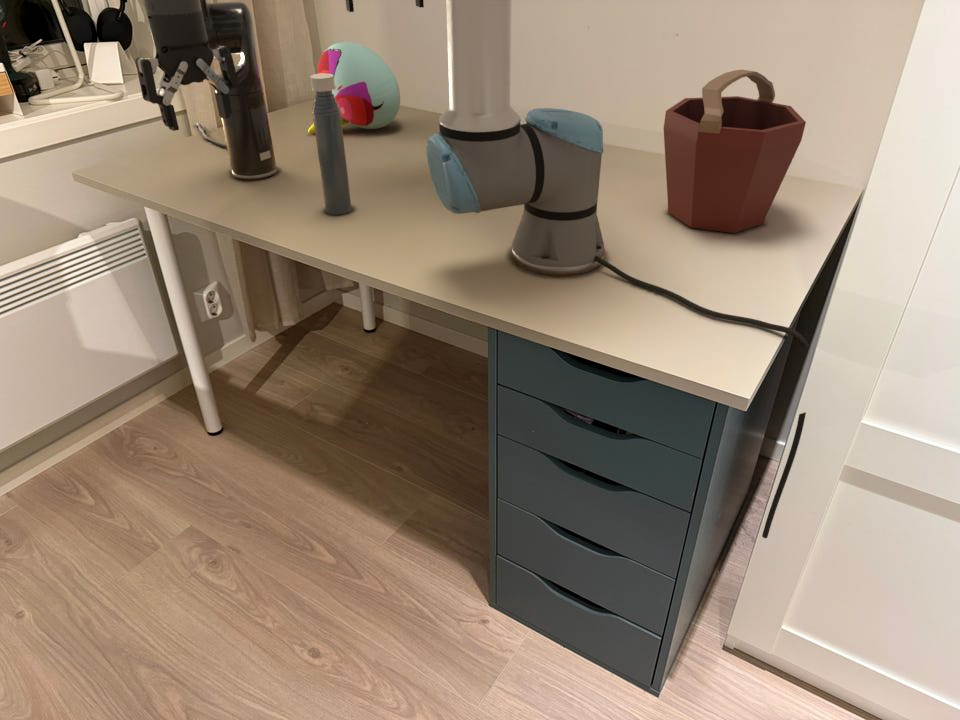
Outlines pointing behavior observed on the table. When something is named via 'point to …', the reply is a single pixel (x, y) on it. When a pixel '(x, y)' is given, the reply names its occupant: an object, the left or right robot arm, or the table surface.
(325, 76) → the cap
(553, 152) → the right robot arm
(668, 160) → the bucket
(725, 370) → the table surface
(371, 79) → the toy
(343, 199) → the bottle
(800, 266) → the table surface
